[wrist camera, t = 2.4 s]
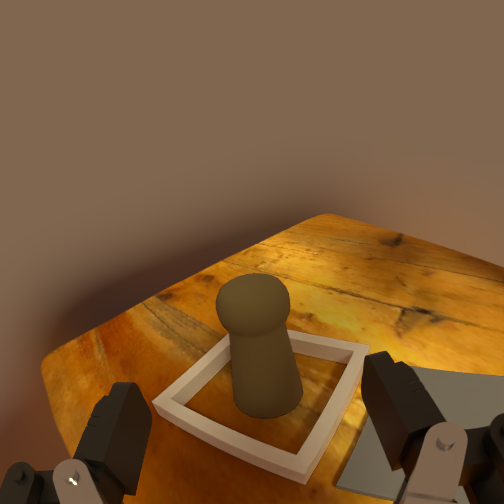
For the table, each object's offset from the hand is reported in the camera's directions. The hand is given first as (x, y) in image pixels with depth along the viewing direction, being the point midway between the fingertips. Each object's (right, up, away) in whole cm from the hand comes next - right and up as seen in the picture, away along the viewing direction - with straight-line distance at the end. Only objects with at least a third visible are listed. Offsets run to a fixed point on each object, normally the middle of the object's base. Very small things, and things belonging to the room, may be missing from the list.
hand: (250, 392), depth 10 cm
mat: (+14, -9, +7) cm, 18 cm away
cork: (+1, -8, +15) cm, 17 cm away
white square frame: (+1, -7, +15) cm, 17 cm away
